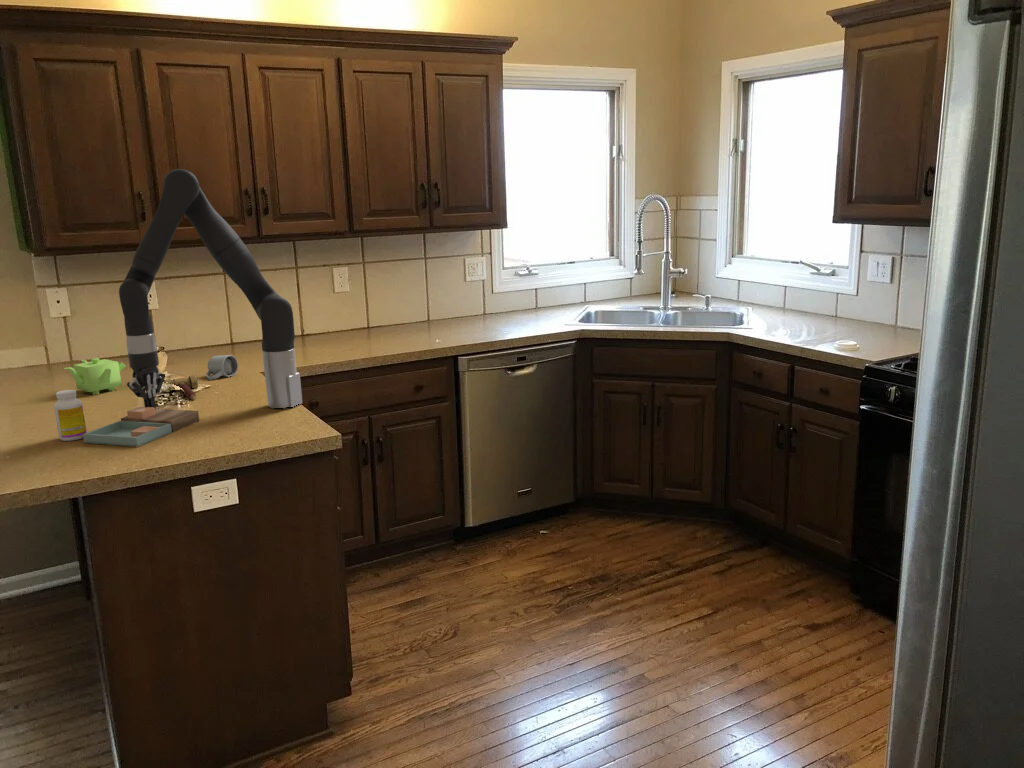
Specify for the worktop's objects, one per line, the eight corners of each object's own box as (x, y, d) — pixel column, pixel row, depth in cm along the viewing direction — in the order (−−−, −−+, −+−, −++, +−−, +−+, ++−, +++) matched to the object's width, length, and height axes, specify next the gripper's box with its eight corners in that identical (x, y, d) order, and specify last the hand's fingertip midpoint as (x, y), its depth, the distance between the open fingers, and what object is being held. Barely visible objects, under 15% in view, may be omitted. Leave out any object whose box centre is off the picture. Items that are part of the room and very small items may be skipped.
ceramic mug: (222, 372, 295) (219, 352, 293) (239, 374, 292) (237, 353, 290) (200, 380, 286) (197, 358, 284) (218, 381, 282) (215, 359, 281)
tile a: (146, 432, 213) (147, 439, 213) (159, 427, 217) (160, 434, 218) (130, 431, 214) (131, 438, 215) (143, 426, 219) (145, 433, 219)
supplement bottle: (91, 437, 219) (84, 391, 216) (65, 443, 214) (57, 396, 211) (81, 433, 224) (74, 387, 221) (55, 438, 219) (47, 392, 216)
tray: (172, 432, 221) (170, 423, 220) (137, 447, 209) (136, 437, 208) (120, 429, 226) (119, 420, 225) (84, 443, 214) (82, 434, 213)
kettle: (68, 398, 265) (62, 364, 262) (83, 388, 278) (77, 356, 276) (117, 394, 267) (112, 361, 265) (129, 385, 281) (124, 353, 278)
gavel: (209, 389, 257) (176, 394, 252) (211, 403, 259) (178, 408, 253) (194, 374, 274) (162, 378, 269) (195, 387, 276) (164, 391, 270)
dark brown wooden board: (199, 421, 232) (198, 410, 231) (173, 432, 221) (171, 421, 221) (149, 418, 236) (148, 408, 236) (122, 428, 226) (120, 418, 226)
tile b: (155, 414, 229) (154, 407, 228) (142, 419, 224) (141, 412, 224) (140, 413, 230) (140, 406, 230) (127, 418, 226) (126, 411, 225)
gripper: (136, 355, 219) (145, 417, 223) (169, 345, 232) (177, 404, 236) (113, 354, 222) (122, 415, 226) (148, 345, 234) (156, 403, 238)
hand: (150, 409), depth 231 cm, fingers closed
